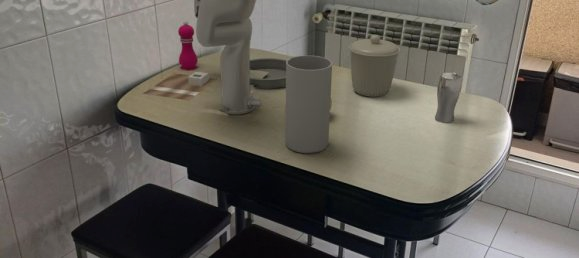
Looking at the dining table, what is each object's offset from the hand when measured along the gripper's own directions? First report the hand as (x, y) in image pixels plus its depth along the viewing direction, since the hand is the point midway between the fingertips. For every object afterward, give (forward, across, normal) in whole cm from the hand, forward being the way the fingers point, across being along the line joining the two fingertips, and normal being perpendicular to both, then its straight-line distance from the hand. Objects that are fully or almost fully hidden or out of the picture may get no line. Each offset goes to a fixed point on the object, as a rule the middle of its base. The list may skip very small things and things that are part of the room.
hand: (206, 35), depth 198 cm
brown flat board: (+17, -14, +4) cm, 22 cm away
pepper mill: (+17, +6, +12) cm, 21 cm away
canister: (+17, +8, -60) cm, 63 cm away
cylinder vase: (+17, -40, -50) cm, 66 cm away
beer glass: (+17, -8, -88) cm, 89 cm away
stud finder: (+16, -8, 0) cm, 18 cm away
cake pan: (+18, +8, -20) cm, 28 cm away
